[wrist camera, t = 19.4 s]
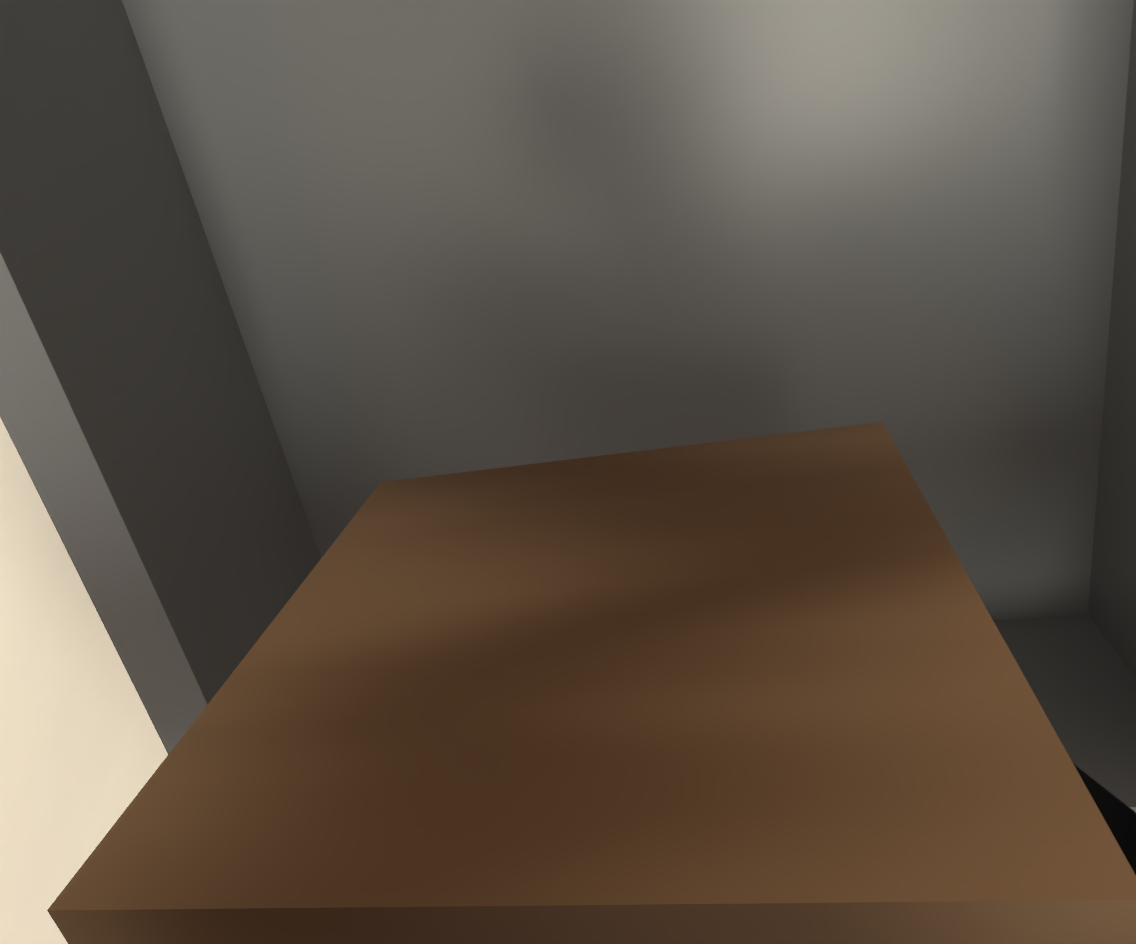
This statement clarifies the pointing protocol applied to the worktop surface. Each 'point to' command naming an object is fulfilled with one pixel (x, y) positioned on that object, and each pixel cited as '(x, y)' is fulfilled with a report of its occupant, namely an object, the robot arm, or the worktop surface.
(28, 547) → the worktop surface
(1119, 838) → the robot arm
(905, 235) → the tote
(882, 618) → the walnut cube
